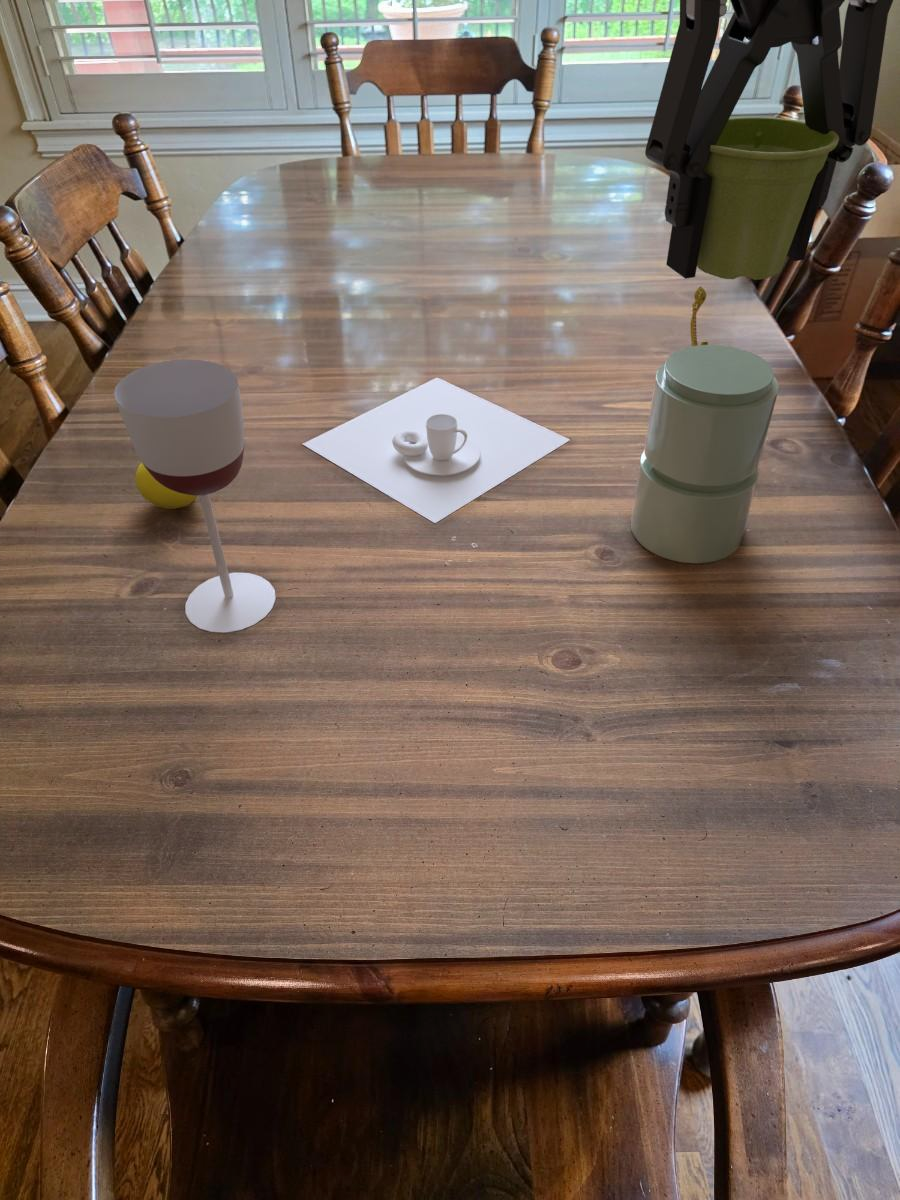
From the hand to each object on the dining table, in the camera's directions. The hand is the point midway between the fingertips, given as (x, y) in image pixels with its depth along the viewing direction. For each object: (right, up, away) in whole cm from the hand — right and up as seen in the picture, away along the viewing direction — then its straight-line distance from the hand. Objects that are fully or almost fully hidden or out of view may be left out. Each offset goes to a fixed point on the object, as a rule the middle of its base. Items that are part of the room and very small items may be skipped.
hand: (735, 261), depth 62 cm
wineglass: (-39, -25, +11) cm, 47 cm away
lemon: (-47, -15, +22) cm, 54 cm away
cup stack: (+1, -18, +17) cm, 25 cm away
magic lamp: (+6, -4, +32) cm, 33 cm away
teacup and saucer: (-22, -8, +29) cm, 37 cm away
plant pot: (0, 0, 0) cm, 1 cm away
